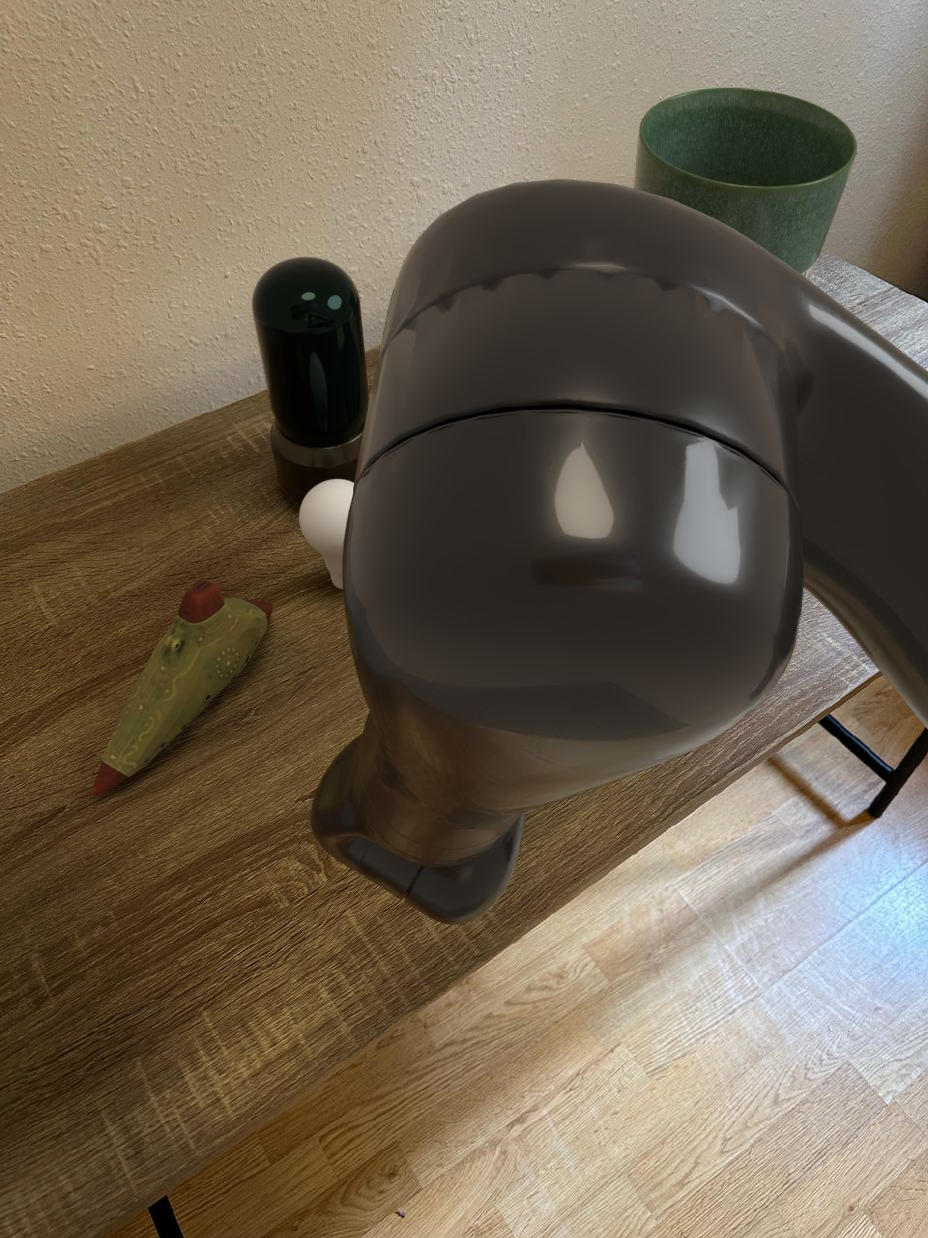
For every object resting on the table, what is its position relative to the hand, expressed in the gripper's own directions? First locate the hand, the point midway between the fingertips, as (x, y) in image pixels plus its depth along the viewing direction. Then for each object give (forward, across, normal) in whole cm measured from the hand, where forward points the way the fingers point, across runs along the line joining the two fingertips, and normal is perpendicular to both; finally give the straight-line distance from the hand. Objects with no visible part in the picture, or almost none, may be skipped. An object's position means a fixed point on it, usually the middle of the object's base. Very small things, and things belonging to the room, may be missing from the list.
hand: (653, 436), depth 68 cm
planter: (+40, +6, +18) cm, 45 cm away
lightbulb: (-8, +22, +19) cm, 30 cm away
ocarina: (-24, +26, +19) cm, 40 cm away
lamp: (+2, +30, +19) cm, 35 cm away
